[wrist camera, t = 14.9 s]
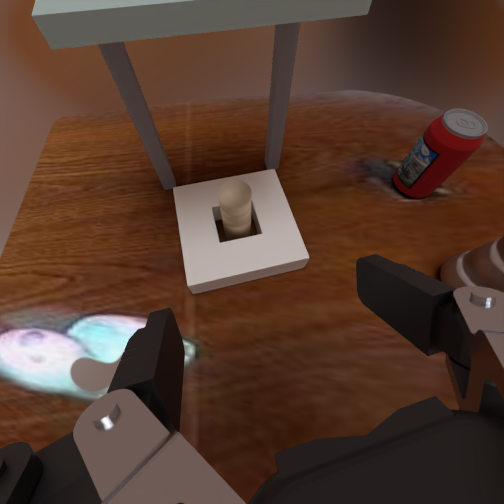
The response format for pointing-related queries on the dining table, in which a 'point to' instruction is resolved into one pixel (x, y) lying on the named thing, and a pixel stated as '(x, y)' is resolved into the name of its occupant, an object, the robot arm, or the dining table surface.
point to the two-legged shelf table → (180, 23)
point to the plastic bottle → (476, 267)
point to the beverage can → (440, 152)
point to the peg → (235, 209)
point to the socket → (240, 250)
